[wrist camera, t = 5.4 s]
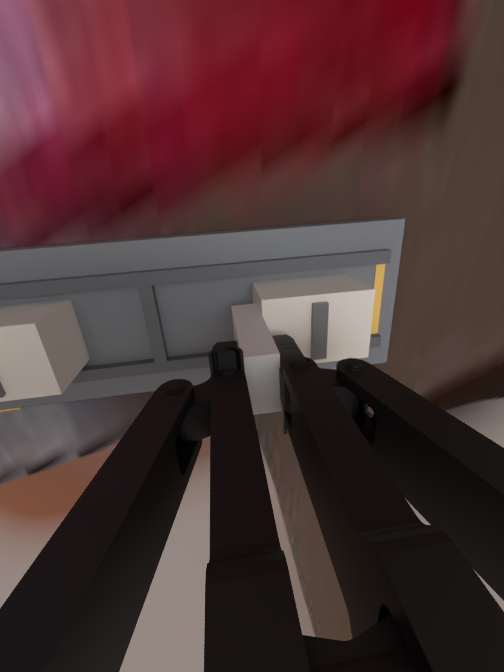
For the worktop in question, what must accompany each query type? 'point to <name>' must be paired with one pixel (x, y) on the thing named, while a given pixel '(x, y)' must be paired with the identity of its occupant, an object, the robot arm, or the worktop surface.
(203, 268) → the grey slider track
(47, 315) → the slider
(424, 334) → the worktop surface
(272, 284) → the slider
